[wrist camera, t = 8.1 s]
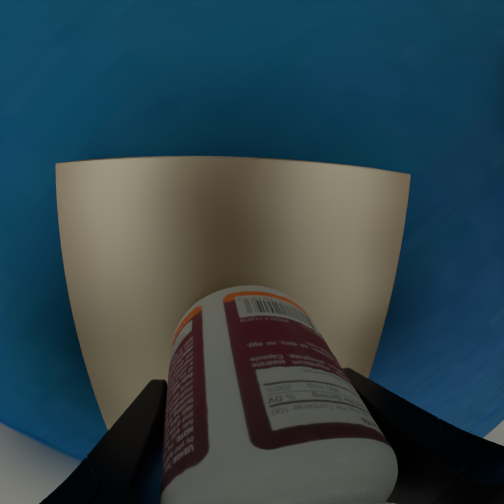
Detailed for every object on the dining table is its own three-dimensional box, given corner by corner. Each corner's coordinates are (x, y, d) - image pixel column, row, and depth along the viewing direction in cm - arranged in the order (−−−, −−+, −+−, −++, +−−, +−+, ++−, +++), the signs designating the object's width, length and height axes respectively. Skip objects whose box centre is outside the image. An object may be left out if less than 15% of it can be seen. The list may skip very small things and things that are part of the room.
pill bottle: (217, 412, 11) (248, 619, 3) (143, 323, 9) (95, 604, 1) (331, 360, 11) (442, 556, 3) (280, 253, 9) (468, 532, 1)
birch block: (370, 167, 13) (410, 174, 10) (333, 385, 17) (352, 421, 14) (86, 159, 11) (55, 163, 8) (119, 395, 15) (110, 435, 12)
